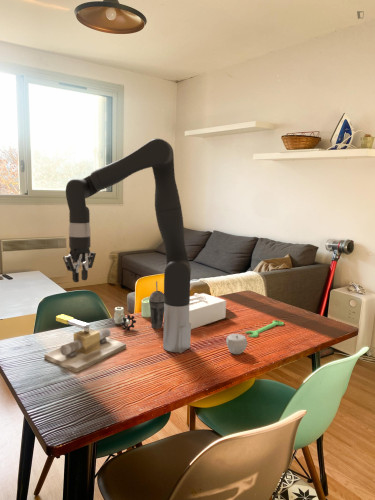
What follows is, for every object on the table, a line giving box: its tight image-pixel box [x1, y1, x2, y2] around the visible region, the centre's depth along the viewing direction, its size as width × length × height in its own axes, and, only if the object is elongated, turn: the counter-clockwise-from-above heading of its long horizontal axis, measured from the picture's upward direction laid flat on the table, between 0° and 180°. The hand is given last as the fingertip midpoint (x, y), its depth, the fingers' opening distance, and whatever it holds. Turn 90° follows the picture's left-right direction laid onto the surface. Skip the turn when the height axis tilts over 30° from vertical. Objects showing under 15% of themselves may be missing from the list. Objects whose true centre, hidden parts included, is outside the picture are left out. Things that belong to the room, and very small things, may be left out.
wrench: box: [245, 320, 285, 338], centre depth 161 cm, size 25×2×5 cm
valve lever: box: [55, 314, 90, 333], centre depth 134 cm, size 15×3×3 cm, turn 57°
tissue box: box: [189, 292, 227, 330], centre depth 168 cm, size 14×25×11 cm, turn 135°
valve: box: [113, 306, 137, 331], centre depth 158 cm, size 7×7×12 cm
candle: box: [141, 296, 151, 318], centre depth 171 cm, size 5×5×8 cm
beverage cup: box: [149, 280, 164, 330], centre depth 157 cm, size 7×7×20 cm
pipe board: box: [43, 327, 127, 373], centre depth 131 cm, size 16×23×8 cm
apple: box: [225, 333, 248, 355], centre depth 136 cm, size 8×8×7 cm
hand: (80, 280), depth 139 cm, fingers open, 3 cm apart
